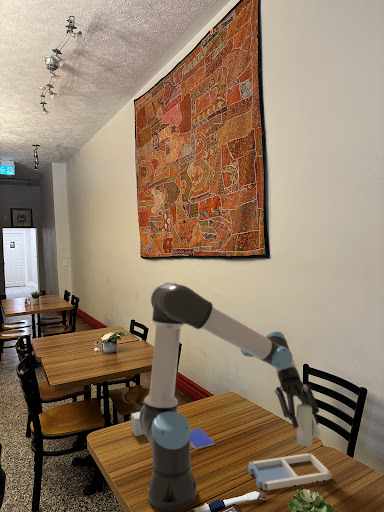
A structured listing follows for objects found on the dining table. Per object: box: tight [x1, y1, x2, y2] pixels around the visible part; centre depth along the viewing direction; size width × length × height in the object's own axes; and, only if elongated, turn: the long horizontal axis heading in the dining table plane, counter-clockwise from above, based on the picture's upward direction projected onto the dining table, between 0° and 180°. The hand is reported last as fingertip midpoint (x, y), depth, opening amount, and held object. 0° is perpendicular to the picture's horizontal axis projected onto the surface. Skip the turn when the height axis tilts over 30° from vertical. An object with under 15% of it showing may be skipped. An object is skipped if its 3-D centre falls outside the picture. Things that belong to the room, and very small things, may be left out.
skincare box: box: [130, 411, 145, 437], centre depth 152 cm, size 6×6×7 cm
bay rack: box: [247, 452, 332, 491], centre depth 122 cm, size 25×12×2 cm, turn 102°
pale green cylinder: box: [296, 403, 313, 447], centre depth 123 cm, size 5×5×12 cm
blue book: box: [190, 428, 216, 450], centre depth 145 cm, size 2×8×12 cm
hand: (310, 436), depth 119 cm, fingers closed on pale green cylinder, 5 cm apart
